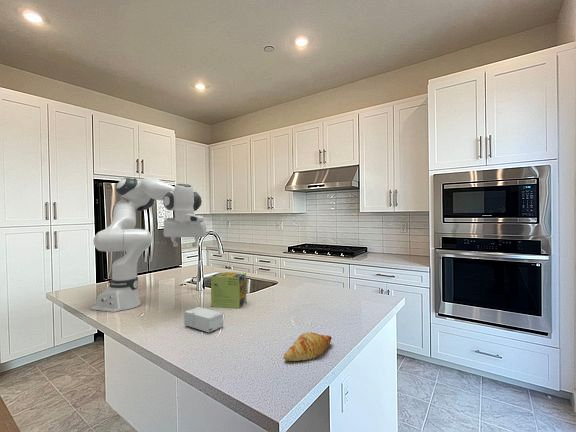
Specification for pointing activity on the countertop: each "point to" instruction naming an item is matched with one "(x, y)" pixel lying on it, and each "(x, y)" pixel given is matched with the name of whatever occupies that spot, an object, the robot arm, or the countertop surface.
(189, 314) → the skincare box
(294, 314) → the countertop surface
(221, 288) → the protein box
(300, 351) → the croissant
